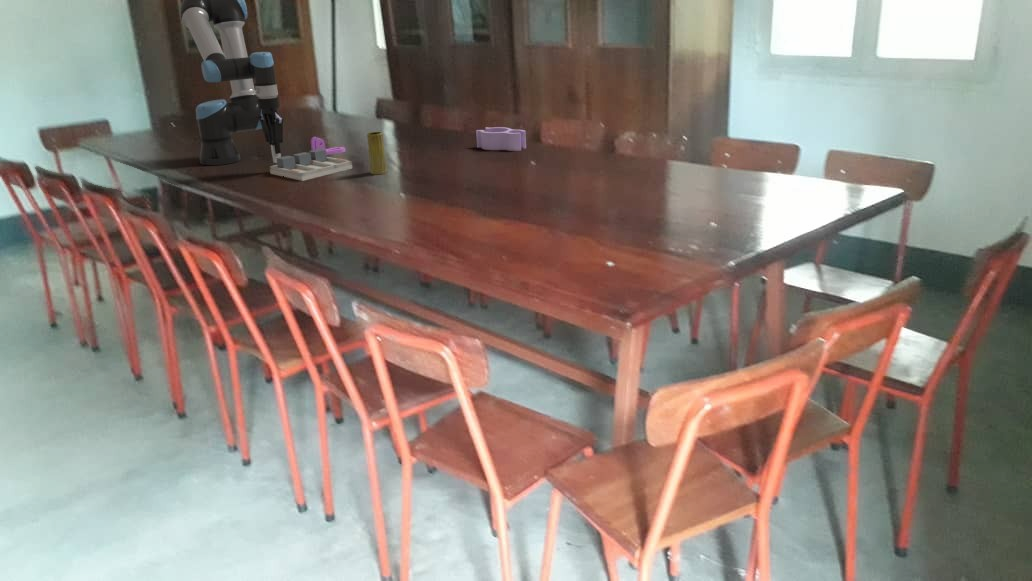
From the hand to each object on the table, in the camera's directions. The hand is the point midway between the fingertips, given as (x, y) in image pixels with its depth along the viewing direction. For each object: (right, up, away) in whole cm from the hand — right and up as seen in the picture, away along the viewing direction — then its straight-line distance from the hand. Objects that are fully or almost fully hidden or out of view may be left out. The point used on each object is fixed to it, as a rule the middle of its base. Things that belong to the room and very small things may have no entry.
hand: (277, 161), depth 296 cm
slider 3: (+13, +1, +7) cm, 15 cm away
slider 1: (+4, -3, -3) cm, 6 cm away
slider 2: (+9, -1, +2) cm, 9 cm away
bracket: (+13, +8, +29) cm, 33 cm away
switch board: (+13, -3, 0) cm, 13 cm away
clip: (+83, +10, +26) cm, 87 cm away
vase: (+39, -5, -7) cm, 40 cm away
